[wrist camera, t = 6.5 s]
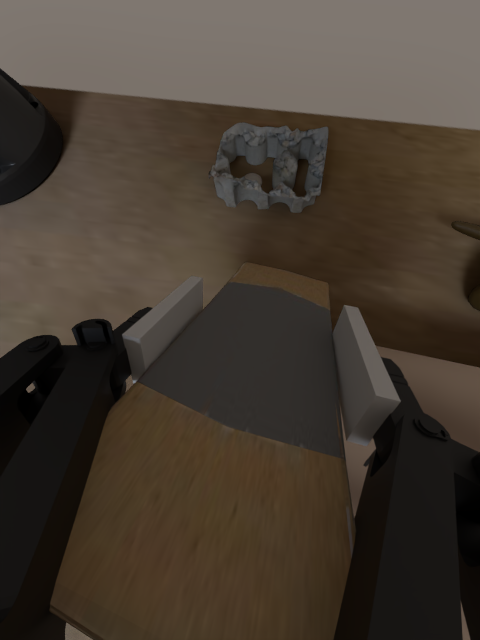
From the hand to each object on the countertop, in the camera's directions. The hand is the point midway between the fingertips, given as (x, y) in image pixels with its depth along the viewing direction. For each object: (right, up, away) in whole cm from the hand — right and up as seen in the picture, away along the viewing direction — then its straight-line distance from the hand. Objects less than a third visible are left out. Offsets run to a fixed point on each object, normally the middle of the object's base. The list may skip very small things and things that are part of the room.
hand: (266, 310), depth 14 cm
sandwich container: (0, -3, +6) cm, 7 cm away
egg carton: (+1, +14, +10) cm, 17 cm away
